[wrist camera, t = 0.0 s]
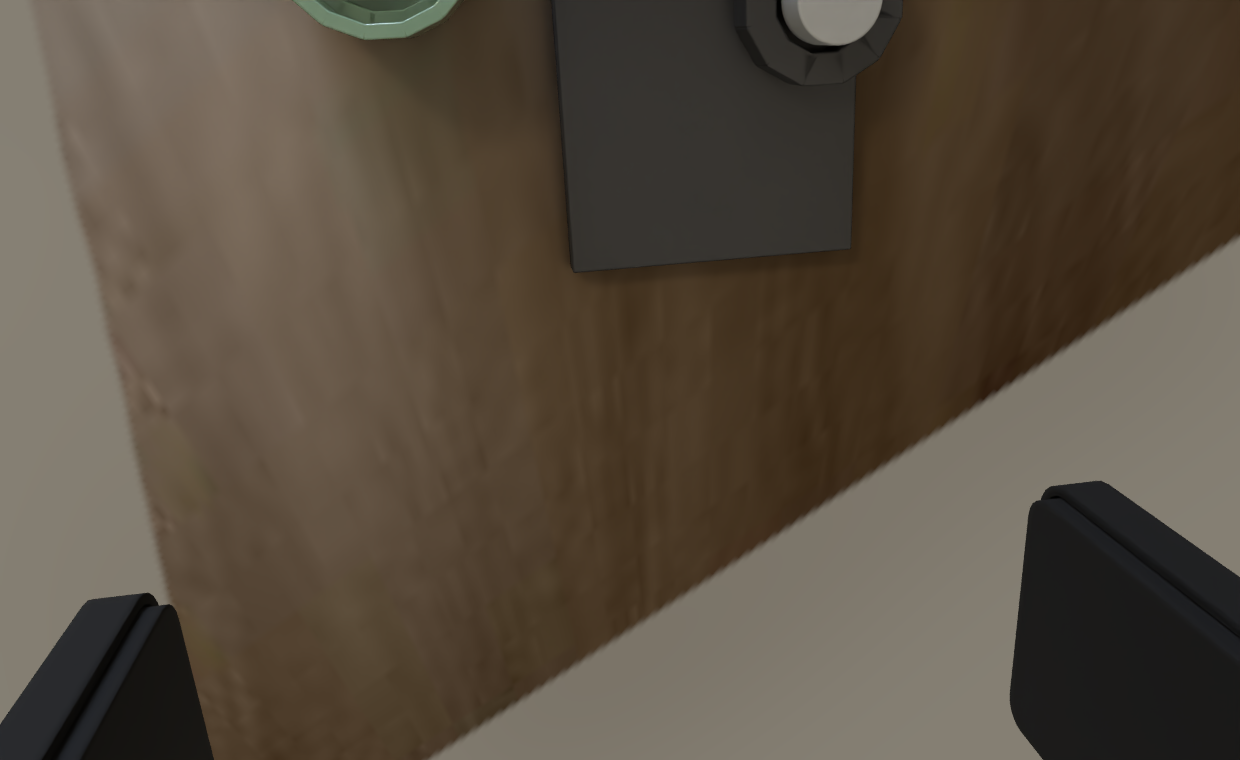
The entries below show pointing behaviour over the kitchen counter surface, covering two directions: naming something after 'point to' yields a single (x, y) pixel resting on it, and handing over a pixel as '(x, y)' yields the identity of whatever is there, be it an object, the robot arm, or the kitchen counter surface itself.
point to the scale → (704, 130)
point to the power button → (830, 19)
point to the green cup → (380, 16)
